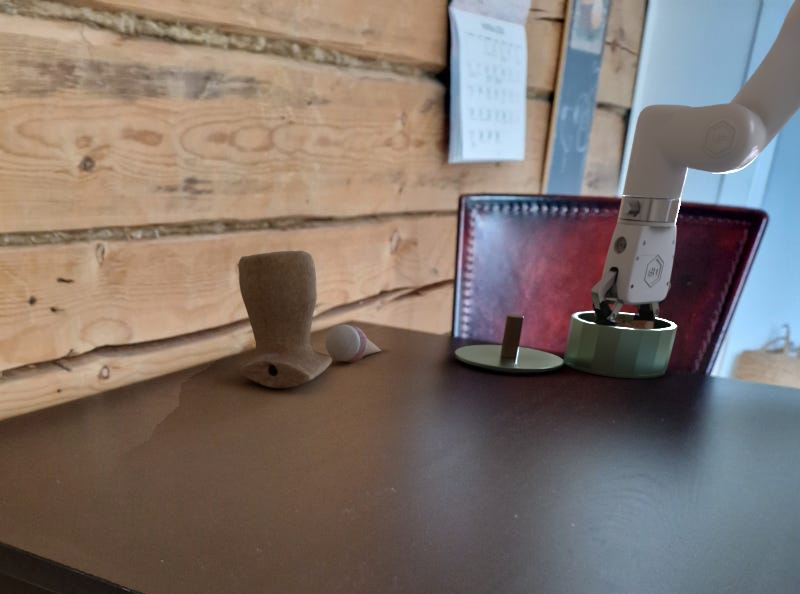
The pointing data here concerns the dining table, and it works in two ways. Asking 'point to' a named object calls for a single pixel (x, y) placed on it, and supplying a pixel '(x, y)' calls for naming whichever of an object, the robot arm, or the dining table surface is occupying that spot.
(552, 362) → the lid
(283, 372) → the brown flared upright piece
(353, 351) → the ice cream cone
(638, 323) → the fruit slice
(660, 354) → the pan
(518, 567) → the dining table surface
